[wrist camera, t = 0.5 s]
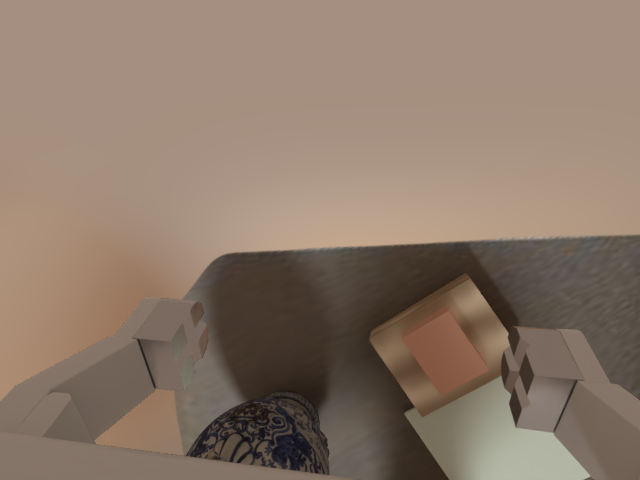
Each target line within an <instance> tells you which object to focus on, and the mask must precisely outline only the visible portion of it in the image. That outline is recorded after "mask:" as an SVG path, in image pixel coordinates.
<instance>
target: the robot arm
mask: <svg viewBox="0 0 640 480" xmlns="http://www.w3.org/2000/svg"><path fill="white" fill-rule="evenodd" d="M203 314H204V311H203V307H202V304H201V303H200V302H198V301H188V300H178V299H169V298H165V299H164V298H155V297H147V298H145V299H143V300H142V302H141V303H140V304H139V305H138V307H137V308H136V309H135V310H134V312H133V313H132V314H131V315H130V317H129V318H128V319H127V320H126V322H125V323H124V324H123V325H122V327H121V328H120V329H119V330H118V332H117V333H116V334H115V335H114V337H106V338H105V339H103V340H101V341H99V342H97V343H95V344H93V345H91V346H90V347H88V348H86V349H84V350H82V351H80V352H78V353H76V354H74V355H73V356H71V357H69V358H67V359H65V360H63V361H61V362H59V363H58V364H56V365H54V366H52V367H50V368H48V369H46V370H44V371H42V372H41V373H39V374H37V375H35V376H33V377H31V378H29V379H27V380H25V381H24V382H22V383H20V384H18V385H16V386H15V387H14V388H13V389H12V390H11V391H10V392H9V393H8V394H7V395H6V396H5V397H4V398H3V400H2V401H1V402H0V480H361V479H354V478H346V477H339V476H331V475H324V474H316V473H308V472H301V471H293V470H286V469H278V468H271V467H263V466H256V465H248V464H241V463H233V462H226V461H219V460H211V459H204V458H196V457H189V456H182V455H173V454H167V453H159V452H152V451H144V450H136V449H129V448H121V447H114V446H106V445H99V444H96V443H95V441H94V440H95V439H97V438H98V437H99V436H100V435H101V434H102V433H104V432H105V431H106V430H107V429H109V428H110V427H111V426H112V425H114V424H115V423H116V422H117V421H119V420H120V419H121V418H122V417H123V416H125V415H126V414H127V413H128V412H130V411H131V410H132V409H133V408H134V407H136V406H137V405H138V404H139V403H141V402H142V401H143V400H144V399H145V398H147V397H148V396H149V395H150V394H151V393H153V392H154V391H155V389H163V390H175V391H186V389H187V387H188V385H189V383H190V381H191V379H192V377H193V375H194V373H195V367H194V364H195V363H196V362H198V361H199V360H201V359H202V358H203V356H204V353H205V351H206V348H207V344H208V328H207V325H206V324H205V323H204V322H203V321H202V320H201V317H202V316H203ZM508 341H509V344H510V346H509V347H508V348H507V349H505V350H504V352H503V356H502V360H501V375H502V381H503V385H504V388H505V389H506V390H507V391H508V392H509V393H510V394H511V398H510V401H509V406H510V410H511V413H512V416H513V420H514V423H515V427H516V428H521V429H529V430H536V431H543V432H551V433H554V436H555V437H556V438H557V439H558V440H559V441H560V442H561V443H562V445H563V446H564V447H565V448H566V449H567V450H568V451H569V452H570V453H571V455H572V456H573V457H574V458H575V459H576V460H577V461H578V462H579V464H580V465H581V466H582V467H583V468H584V469H585V470H586V471H587V472H588V474H589V475H590V476H591V477H592V478H593V479H594V480H640V400H639V399H637V398H636V397H635V396H633V395H632V394H630V393H629V392H628V391H626V390H625V389H623V388H622V387H621V386H619V385H618V384H611V383H610V381H609V380H608V378H607V376H606V374H605V372H604V371H603V369H602V367H601V365H600V364H599V362H598V360H597V358H596V356H595V355H594V353H593V351H592V349H591V348H590V346H589V344H588V342H587V341H586V339H585V337H584V335H583V333H582V332H580V331H579V330H569V329H548V328H534V327H520V326H512V328H511V329H510V331H509V334H508Z"/></svg>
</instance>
